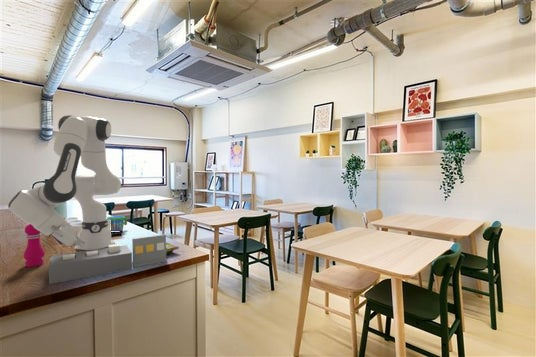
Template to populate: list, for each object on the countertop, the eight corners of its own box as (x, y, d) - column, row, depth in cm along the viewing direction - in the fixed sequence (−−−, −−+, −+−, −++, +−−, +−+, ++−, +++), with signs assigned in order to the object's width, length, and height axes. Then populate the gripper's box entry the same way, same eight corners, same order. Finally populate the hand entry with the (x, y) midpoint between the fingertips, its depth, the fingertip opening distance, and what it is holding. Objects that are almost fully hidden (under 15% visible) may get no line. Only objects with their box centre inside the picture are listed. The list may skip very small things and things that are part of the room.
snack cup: (121, 228, 198) (121, 214, 197) (132, 230, 193) (131, 215, 192) (100, 233, 184) (99, 218, 183) (110, 235, 179) (110, 219, 178)
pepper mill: (32, 262, 129) (30, 218, 128) (48, 261, 129) (47, 218, 128) (19, 267, 121) (17, 221, 121) (37, 267, 122) (35, 221, 121)
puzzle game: (157, 238, 155) (178, 244, 142) (158, 246, 155) (178, 253, 142) (136, 242, 146) (156, 249, 133) (136, 251, 146) (156, 259, 133)
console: (51, 272, 116) (51, 255, 116) (127, 260, 132) (126, 245, 132) (49, 284, 104) (48, 265, 104) (132, 268, 120) (131, 252, 120)
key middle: (86, 262, 119) (86, 251, 118) (97, 260, 121) (97, 250, 121) (86, 265, 115) (86, 254, 115) (98, 263, 117) (98, 252, 117)
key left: (63, 266, 114) (62, 255, 114) (75, 264, 116) (74, 253, 116) (62, 269, 111) (62, 257, 111) (75, 267, 113) (74, 256, 113)
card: (132, 264, 126) (131, 237, 126) (164, 258, 134) (164, 233, 134) (134, 267, 122) (133, 240, 122) (167, 261, 130) (166, 235, 129)
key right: (108, 255, 123) (108, 245, 123) (118, 253, 125) (118, 243, 125) (109, 257, 120) (109, 247, 119) (119, 255, 122) (119, 245, 122)
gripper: (58, 222, 103) (91, 245, 109) (61, 214, 120) (88, 234, 126) (43, 236, 100) (77, 258, 106) (48, 226, 117) (77, 245, 123)
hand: (83, 245), depth 116 cm, fingers closed
